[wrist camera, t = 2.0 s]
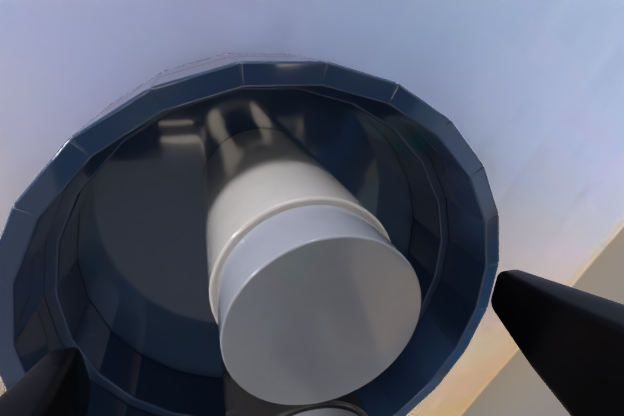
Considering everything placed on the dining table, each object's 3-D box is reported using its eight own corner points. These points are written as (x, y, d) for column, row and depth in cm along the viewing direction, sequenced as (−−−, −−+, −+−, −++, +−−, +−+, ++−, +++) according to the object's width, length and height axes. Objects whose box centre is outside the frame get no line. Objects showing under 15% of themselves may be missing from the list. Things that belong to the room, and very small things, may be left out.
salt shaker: (208, 242, 15) (222, 432, 8) (195, 130, 14) (198, 245, 6) (315, 229, 17) (413, 385, 9) (317, 125, 15) (443, 215, 7)
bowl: (102, 416, 18) (73, 538, 14) (-14, 51, 11) (-144, 61, 7) (405, 350, 22) (457, 427, 18) (450, 53, 16) (552, 60, 11)
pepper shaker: (221, 358, 18) (241, 582, 11) (212, 278, 16) (228, 484, 9) (313, 339, 19) (388, 530, 12) (315, 263, 17) (405, 433, 10)
